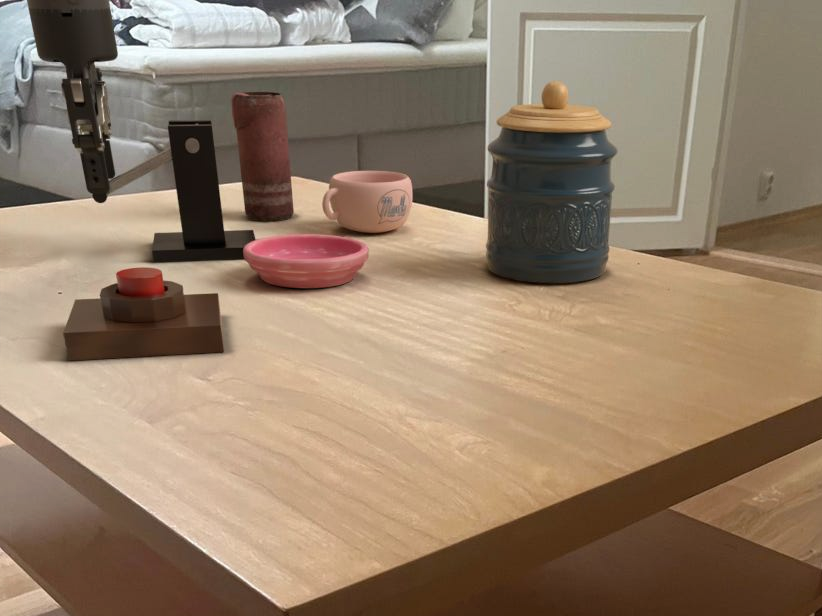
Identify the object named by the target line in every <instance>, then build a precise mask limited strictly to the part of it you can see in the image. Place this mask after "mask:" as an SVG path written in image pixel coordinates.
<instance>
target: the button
mask: <svg viewBox="0 0 822 616" xmlns="http://www.w3.org/2000/svg"><path fill="white" fill-rule="evenodd" d="M162 271H163V270H161V269H159V268H155V267H144V266H143V267H141V266H140V267H130V268H129V267H128V268H125V269H124V268H123V269H120V270H119V271H117V272H115V277H116V283H117V284H118V289H119V295H122V296H131V297H137V296H150V295H156V294H161V293H163V292H165V289H164V282H163V280H164V276H163V272H162Z"/></svg>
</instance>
